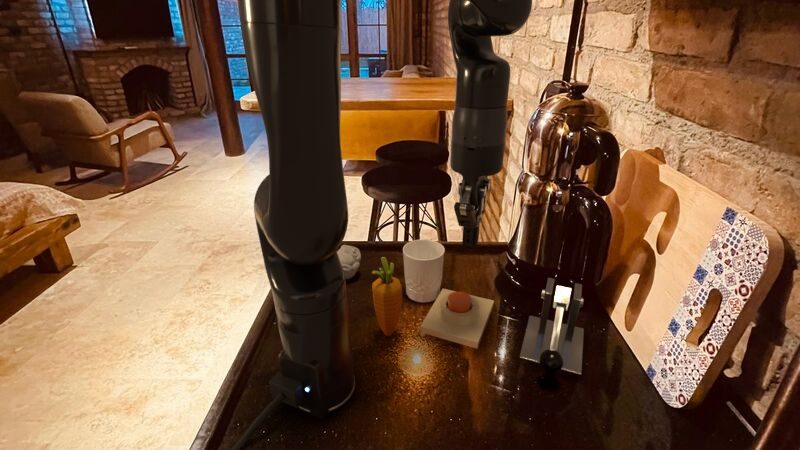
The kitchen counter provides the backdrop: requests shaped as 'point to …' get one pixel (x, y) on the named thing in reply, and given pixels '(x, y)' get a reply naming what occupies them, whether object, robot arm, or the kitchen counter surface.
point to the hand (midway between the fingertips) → (469, 244)
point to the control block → (457, 320)
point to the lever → (556, 331)
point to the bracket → (570, 335)
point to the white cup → (423, 269)
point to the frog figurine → (349, 260)
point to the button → (459, 302)
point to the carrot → (387, 298)
